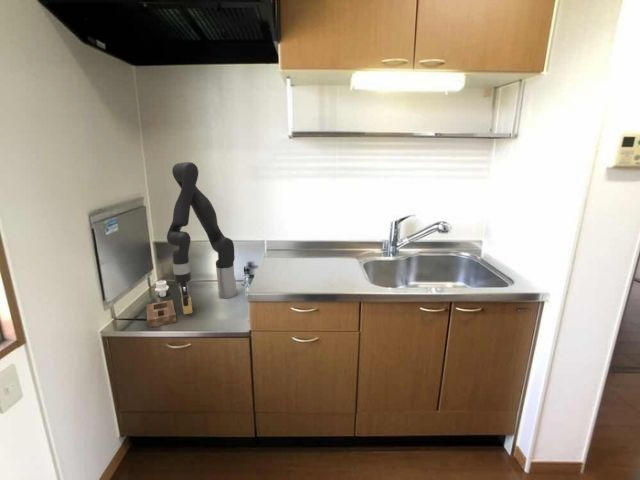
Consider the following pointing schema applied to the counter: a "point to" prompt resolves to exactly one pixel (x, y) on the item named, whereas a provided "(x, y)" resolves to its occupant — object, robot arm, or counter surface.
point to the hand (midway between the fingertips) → (185, 302)
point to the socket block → (160, 313)
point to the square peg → (187, 308)
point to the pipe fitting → (161, 288)
